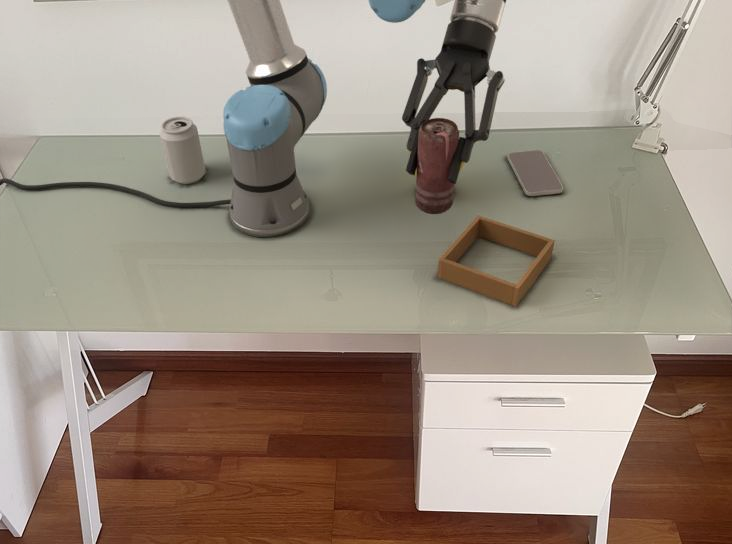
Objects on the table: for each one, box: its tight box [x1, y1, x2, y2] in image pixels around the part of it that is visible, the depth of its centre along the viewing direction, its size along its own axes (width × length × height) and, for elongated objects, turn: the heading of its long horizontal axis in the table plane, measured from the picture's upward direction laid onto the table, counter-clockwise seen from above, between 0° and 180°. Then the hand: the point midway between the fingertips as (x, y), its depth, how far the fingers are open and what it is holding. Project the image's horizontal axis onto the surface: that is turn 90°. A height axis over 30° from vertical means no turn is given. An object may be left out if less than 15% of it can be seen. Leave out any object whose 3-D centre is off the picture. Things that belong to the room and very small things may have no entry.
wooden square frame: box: [437, 215, 556, 308], centre depth 130 cm, size 15×15×4 cm
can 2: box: [414, 117, 460, 215], centre depth 118 cm, size 6×6×14 cm
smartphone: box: [506, 149, 564, 197], centre depth 150 cm, size 7×1×15 cm
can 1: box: [159, 116, 207, 185], centre depth 153 cm, size 8×8×12 cm
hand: (430, 176), depth 116 cm, fingers closed on can 2, 6 cm apart
